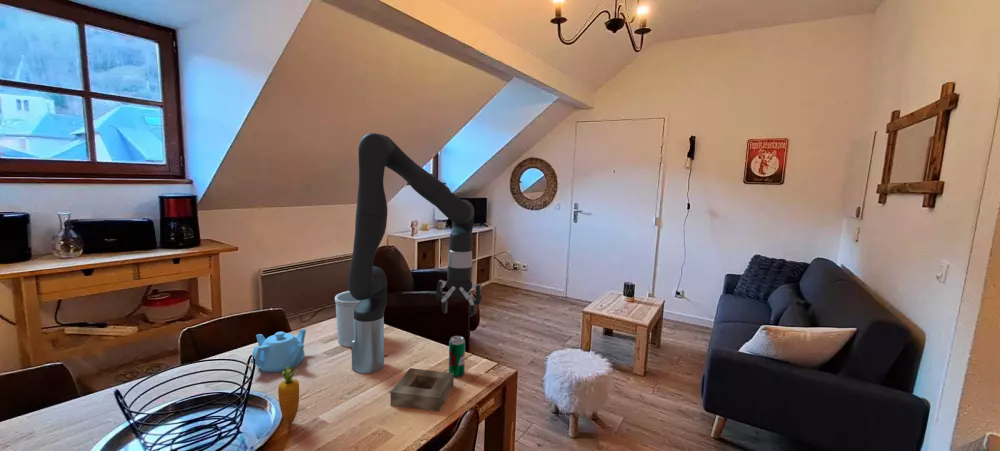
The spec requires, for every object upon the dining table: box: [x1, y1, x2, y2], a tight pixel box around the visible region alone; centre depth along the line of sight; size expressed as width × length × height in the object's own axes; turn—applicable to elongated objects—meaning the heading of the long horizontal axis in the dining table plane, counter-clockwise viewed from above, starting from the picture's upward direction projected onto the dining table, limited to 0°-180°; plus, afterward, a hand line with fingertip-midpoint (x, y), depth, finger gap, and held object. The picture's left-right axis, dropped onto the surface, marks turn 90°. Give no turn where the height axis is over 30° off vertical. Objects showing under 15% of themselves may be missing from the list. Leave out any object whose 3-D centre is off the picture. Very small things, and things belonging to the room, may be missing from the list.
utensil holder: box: [334, 290, 361, 348], centre depth 152 cm, size 15×15×18 cm
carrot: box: [277, 367, 300, 425], centre depth 101 cm, size 5×5×15 cm
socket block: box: [390, 367, 455, 413], centre depth 117 cm, size 14×14×4 cm
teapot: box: [250, 328, 307, 373], centre depth 132 cm, size 15×15×11 cm
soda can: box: [448, 335, 466, 378], centre depth 129 cm, size 5×5×12 cm
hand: (458, 314), depth 127 cm, fingers open, 8 cm apart
